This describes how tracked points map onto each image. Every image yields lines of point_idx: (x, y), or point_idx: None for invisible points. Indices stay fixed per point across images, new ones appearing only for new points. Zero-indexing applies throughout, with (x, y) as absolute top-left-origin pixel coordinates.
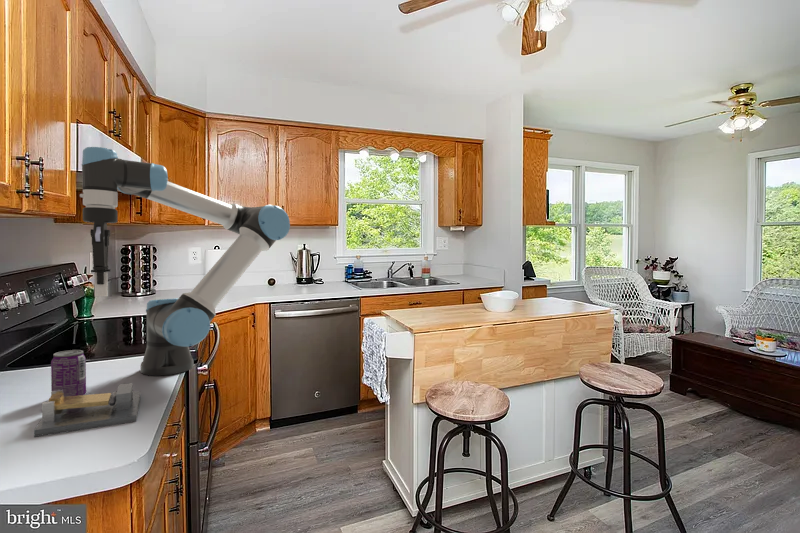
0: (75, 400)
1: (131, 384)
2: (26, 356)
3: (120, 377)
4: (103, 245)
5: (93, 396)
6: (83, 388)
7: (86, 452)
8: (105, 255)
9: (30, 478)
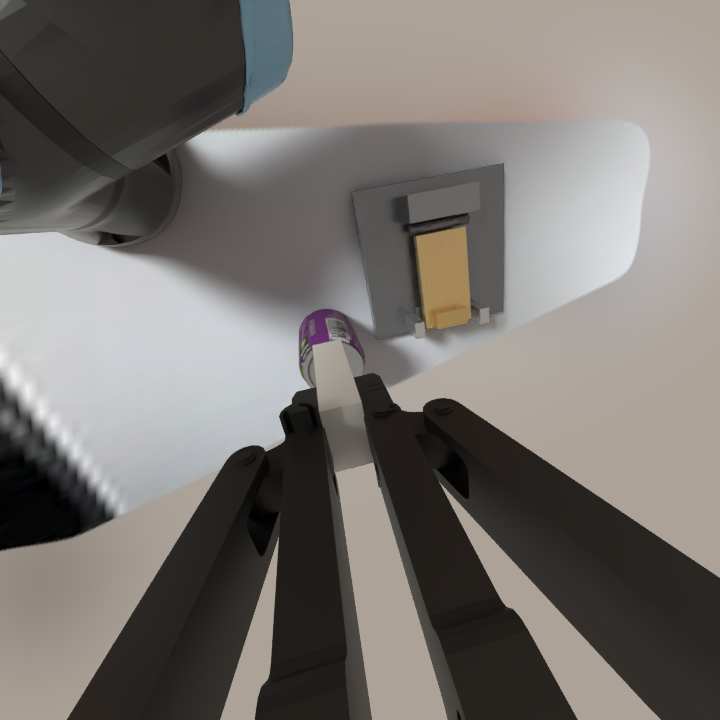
0: (451, 286)
1: (418, 194)
2: None
3: (185, 281)
4: (707, 572)
5: (432, 263)
6: (333, 313)
7: (584, 213)
8: (445, 496)
9: (623, 256)
